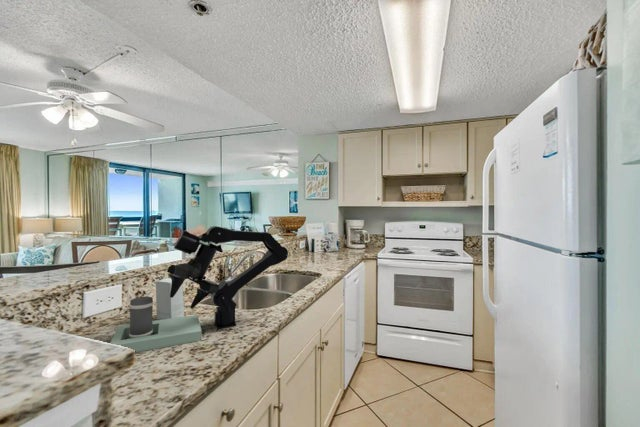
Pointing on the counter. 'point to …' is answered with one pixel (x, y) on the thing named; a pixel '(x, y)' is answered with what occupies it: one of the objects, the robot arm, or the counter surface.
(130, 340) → the pale green recessed tray
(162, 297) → the skincare box
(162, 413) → the counter surface
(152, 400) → the counter surface
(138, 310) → the white-banded grey cylinder
